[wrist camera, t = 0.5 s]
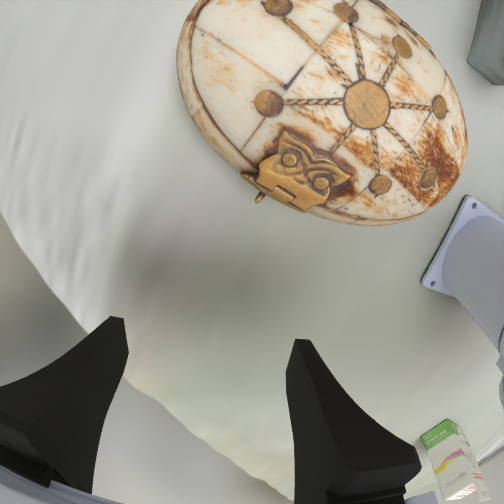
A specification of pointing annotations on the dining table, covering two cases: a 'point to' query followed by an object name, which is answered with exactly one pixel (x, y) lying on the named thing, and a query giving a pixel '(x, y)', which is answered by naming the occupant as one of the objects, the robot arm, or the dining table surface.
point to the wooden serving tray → (489, 42)
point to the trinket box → (324, 105)
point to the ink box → (454, 462)
